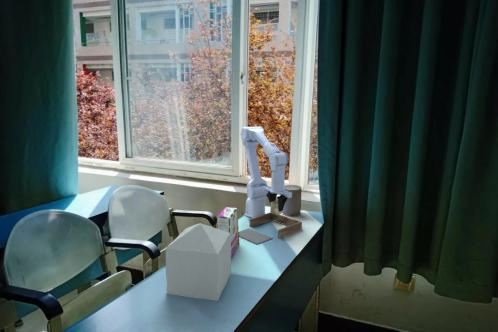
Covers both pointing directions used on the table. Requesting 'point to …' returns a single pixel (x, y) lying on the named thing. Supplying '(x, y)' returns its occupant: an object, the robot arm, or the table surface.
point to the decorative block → (199, 262)
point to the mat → (253, 236)
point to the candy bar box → (229, 225)
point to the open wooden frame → (292, 223)
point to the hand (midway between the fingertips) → (276, 209)
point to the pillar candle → (293, 200)
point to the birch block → (275, 208)
